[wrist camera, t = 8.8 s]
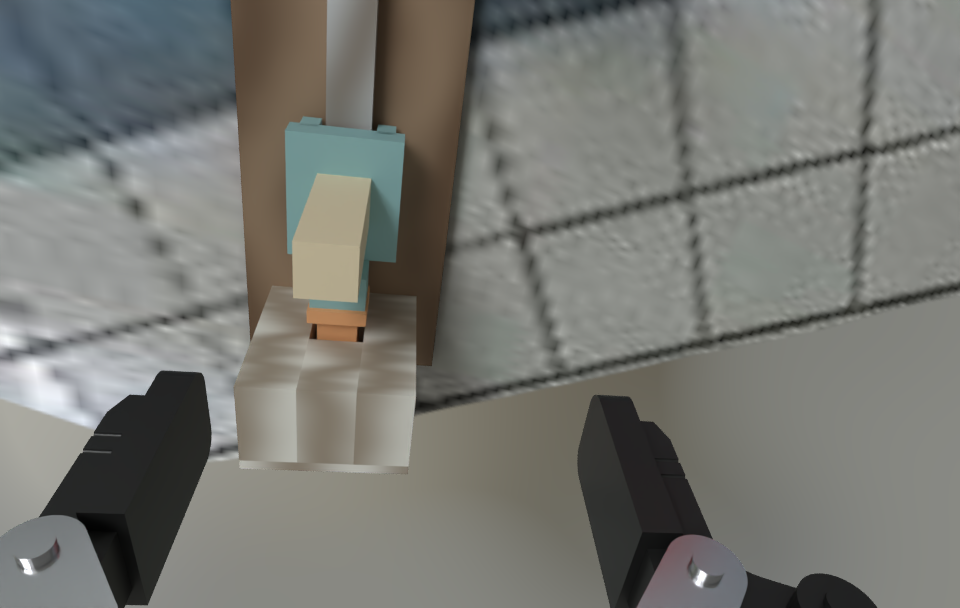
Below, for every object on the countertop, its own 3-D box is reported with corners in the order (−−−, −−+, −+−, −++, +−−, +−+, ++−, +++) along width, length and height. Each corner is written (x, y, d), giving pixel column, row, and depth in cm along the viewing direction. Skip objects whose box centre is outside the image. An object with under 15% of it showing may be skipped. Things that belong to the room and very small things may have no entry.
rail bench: (483, -87, 32) (510, -81, 23) (431, 358, 46) (434, 475, 37) (228, -127, 30) (144, -138, 21) (254, 347, 44) (210, 467, 35)
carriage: (405, 127, 36) (401, 204, 27) (394, 270, 41) (388, 377, 31) (293, 115, 35) (250, 190, 26) (295, 262, 40) (259, 370, 31)
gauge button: (370, 285, 39) (366, 314, 36) (365, 368, 42) (361, 400, 39) (314, 281, 38) (306, 310, 35) (314, 365, 41) (306, 397, 39)
